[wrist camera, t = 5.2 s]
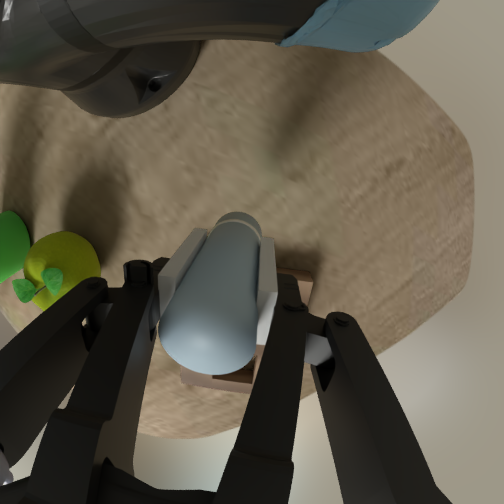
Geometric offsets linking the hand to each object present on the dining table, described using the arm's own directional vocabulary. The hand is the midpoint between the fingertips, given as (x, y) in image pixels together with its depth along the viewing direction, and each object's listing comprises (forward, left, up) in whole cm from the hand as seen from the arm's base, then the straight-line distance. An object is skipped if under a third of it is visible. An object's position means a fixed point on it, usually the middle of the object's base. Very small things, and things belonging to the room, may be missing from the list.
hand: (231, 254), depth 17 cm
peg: (0, 0, -4) cm, 4 cm away
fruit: (+7, -19, -11) cm, 23 cm away
